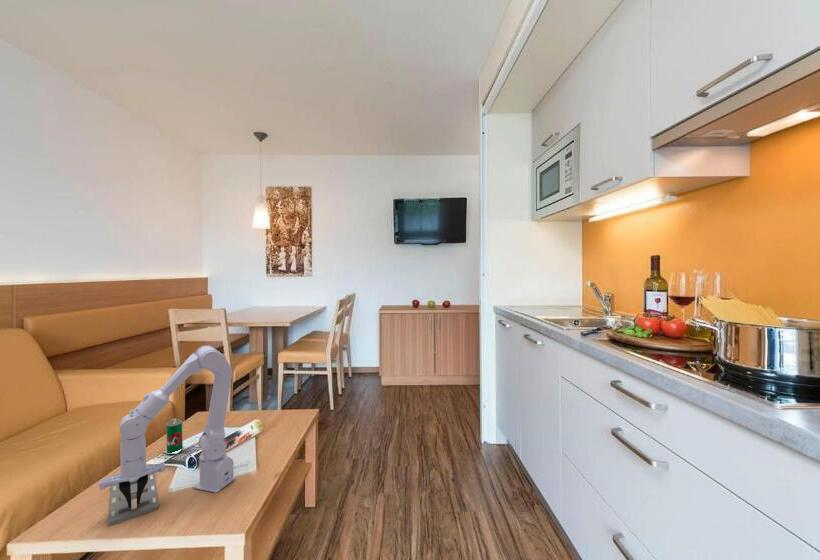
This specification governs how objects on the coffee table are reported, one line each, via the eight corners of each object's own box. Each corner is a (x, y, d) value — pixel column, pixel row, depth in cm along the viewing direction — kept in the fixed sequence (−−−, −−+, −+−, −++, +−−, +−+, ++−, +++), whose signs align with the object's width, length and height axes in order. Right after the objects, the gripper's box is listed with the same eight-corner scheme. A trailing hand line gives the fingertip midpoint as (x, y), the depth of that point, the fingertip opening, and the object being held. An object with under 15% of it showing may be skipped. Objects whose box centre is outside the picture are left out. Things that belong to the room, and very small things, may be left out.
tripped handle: (136, 502, 101) (136, 493, 101) (136, 507, 98) (136, 498, 98) (131, 504, 100) (131, 495, 100) (131, 509, 98) (131, 500, 98)
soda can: (185, 449, 134) (185, 418, 134) (175, 456, 129) (175, 424, 129) (173, 448, 135) (173, 417, 134) (163, 455, 129) (162, 423, 129)
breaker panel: (154, 474, 117) (154, 462, 117) (158, 508, 100) (158, 494, 100) (111, 487, 110) (111, 474, 110) (108, 526, 93) (108, 511, 93)
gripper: (98, 472, 91) (99, 523, 91) (165, 454, 100) (166, 500, 101) (99, 461, 97) (100, 509, 97) (163, 445, 106) (164, 489, 106)
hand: (134, 504), depth 99 cm, fingers closed, pressing on tripped handle
